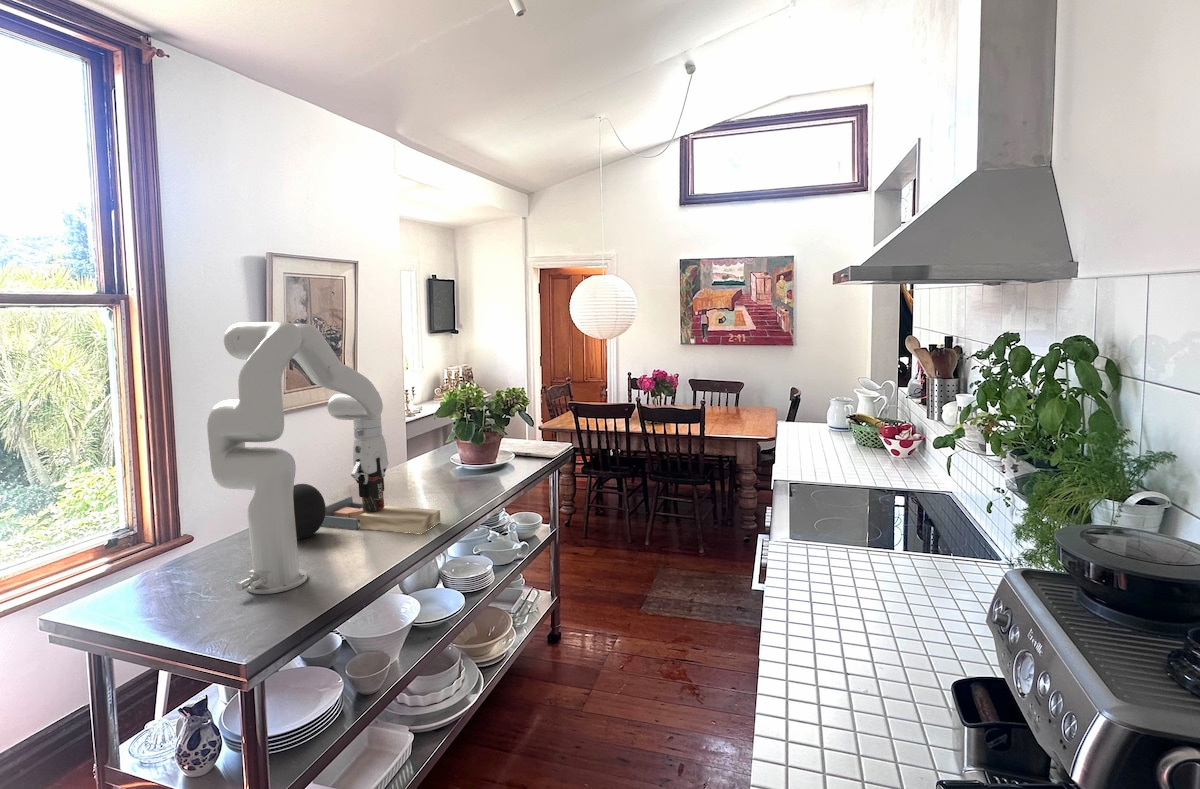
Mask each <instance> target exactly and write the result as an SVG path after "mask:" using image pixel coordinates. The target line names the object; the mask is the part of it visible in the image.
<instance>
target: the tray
mask: <svg viewBox="0 0 1200 789" xmlns="http://www.w3.org/2000/svg"><path fill="white" fill-rule="evenodd" d="M325 506H326V513H325V518H324V521H323V523H322V525H321V527H324V526H325V527H327V528H334V527H338V529H344V528H348V529H347V530H354V529H357V530H359V529H360V520H358V519H355V518H345V517H334V512H335V511H337V510H340V509H342V508H345V507H349V508H358V509H360V508H363V504H362V502H355V501H353V495H350V496H346V497H344V498H342V499H339V500H336V501H335V502H332V503H330V504H327V505H325ZM325 527H324V528H325ZM358 528H359V529H358Z"/></svg>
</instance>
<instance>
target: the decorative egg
mask: <svg viewBox="0 0 1200 789" xmlns="http://www.w3.org/2000/svg"><path fill="white" fill-rule="evenodd" d="M293 500H294V514H295V525H296V537H297V539H306V538H309V537H311V536H312V535H314V534H315V533H317V532H318V530H319V529H320V528H321V527H322V526H321V525H322V523H323V521H324V518H325V513H326V506H327V505H326V502H325V499H324V497H323V494H322V493H321V492H320V491H319V490H318V489H317V488H316V487H315V486H313V485H310V484H308V483H296V484H294V490H293Z"/></svg>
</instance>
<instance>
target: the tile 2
mask: <svg viewBox="0 0 1200 789" xmlns="http://www.w3.org/2000/svg"><path fill="white" fill-rule="evenodd" d="M365 512H368V511H364V510H363V508H360V509H358V510H355V511H353V512H351V513H349V515H350V518H355V519H358V520H360V515H361V514H363V513H365Z"/></svg>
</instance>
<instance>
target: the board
mask: <svg viewBox="0 0 1200 789" xmlns="http://www.w3.org/2000/svg"><path fill="white" fill-rule="evenodd" d="M439 522H441V510H440V509H433V508H432V509H431V508H420V507H419V508H418V507H417V508H416V507H407V506H406V507H405V506H394V505H385V504H384V508H383V509H380V510H376V511H368V512H365V513H363V514H361V515H360V528H359V529H360V530H367V529H373V530H372V531H377V530H384V531H383V532H387V531H394V532H393V533H397V532H408V533H409V532H410V533H420V534H421V533H423V532H425V531H426V530H428V529H430V528H431V527H433V526H434V525H436V524H438V523H439ZM441 523H442V522H441ZM430 530H431V529H430ZM425 533H426V532H425Z"/></svg>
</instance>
